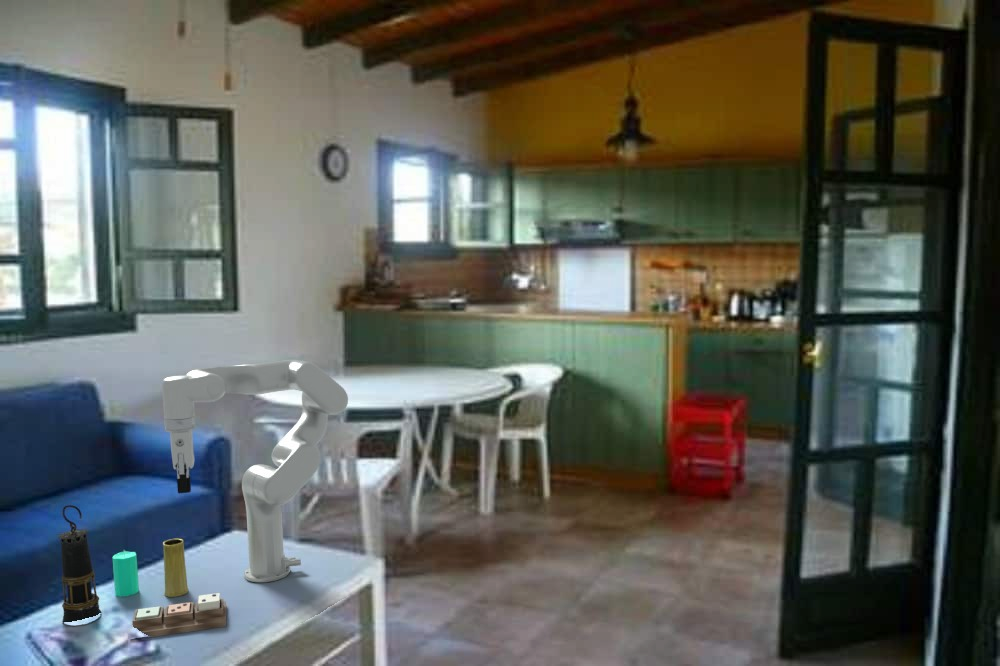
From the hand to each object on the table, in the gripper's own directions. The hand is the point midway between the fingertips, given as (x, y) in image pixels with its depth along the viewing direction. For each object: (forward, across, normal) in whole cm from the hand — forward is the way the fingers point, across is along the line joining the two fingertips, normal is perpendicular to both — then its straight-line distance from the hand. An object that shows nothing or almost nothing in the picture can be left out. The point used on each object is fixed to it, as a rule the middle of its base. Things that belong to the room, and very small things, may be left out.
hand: (184, 492), depth 232 cm
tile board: (+29, -15, +2) cm, 33 cm away
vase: (+29, +5, +4) cm, 30 cm away
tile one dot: (+28, -15, +9) cm, 33 cm away
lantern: (+29, -4, +26) cm, 39 cm away
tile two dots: (+26, -15, -5) cm, 31 cm away
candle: (+29, +10, +17) cm, 35 cm away
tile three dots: (+28, -15, +2) cm, 31 cm away
